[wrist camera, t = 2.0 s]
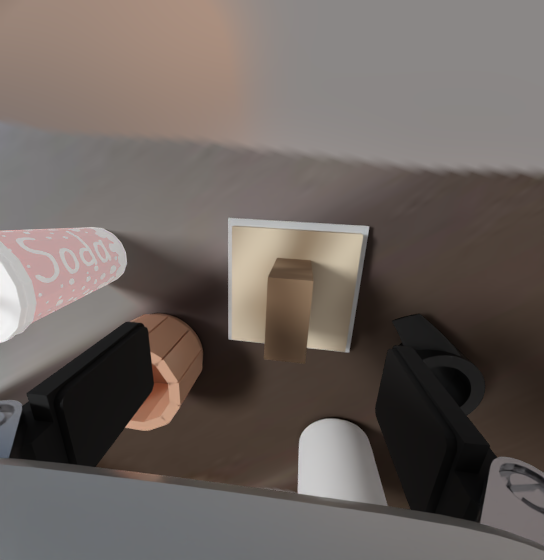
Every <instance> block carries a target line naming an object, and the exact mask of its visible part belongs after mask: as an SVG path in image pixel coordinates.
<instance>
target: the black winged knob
mask: <svg viewBox="0 0 544 560" xmlns="http://www.w3.org/2000/svg"><path fill="white" fill-rule="evenodd" d="M392 322H393V324H394V326H395V328H396V330H397V332H398V334H399V336H400V338H401V341H402V343H401V344H399V345H398V346H407V347H412V348H413V349H414V350H415V351H416V353H417V354H418V355H419V356H420V358H421V359H422V360H423V362H424V363H425V364H426V365H427V367H428V368H429V369H430V370H431V372H432V373H433V374H434V375H435V377H436V378H437V379H438V380H439V382H440V383H441V384H442V386H443V387H444V388H445V389H446V391H447V392H448V393H449V394H450V396H451V397H452V398H453V399H454V401H455V402H456V403H457V405H458V406H459V407H460V408H461V410H462V411H463V412H464V413H465V415H466V416H467V415H468V414H470V413H471V412H472V411H473V410H474V409H475V408H476V407H477V406H478V405H479V404H480V402H481V400H482V398H483V396H484V392H485V381H484V378H483V375H482V374H481V372H480V371H479V369H478V368H477V367H476V366H475V365H474V364H473V363H472V362H470V361H469V360H468V359H467V358H466V357H465V356H464V355H463V354H462V353H461V352H460V351H459V350H458V349H457V348H456V347H455V346H454V345H452V344H451V343H450V342H449V340H448V339H447V338H446V337H445V336H444V335H443V334H442V333H441V332H440V331H439V330H437V329H436V328H435V327H434V326H433V325H432V324H431V323H430V322H428V321H427V320H426V319H425V318H424V317H423V316H422V315H420V314H415V315H410V316H406V317H402V318H399V319H396V320H393V321H392Z"/></svg>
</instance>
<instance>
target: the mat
mask: <svg viewBox="0 0 544 560" xmlns="http://www.w3.org/2000/svg"><path fill="white" fill-rule="evenodd" d="M235 225H236V226H252V227H268V228H284V229H300V230H316V231H332V232H348V233H361V234H363V241H362V247H361V254H360V260H359V267H358V273H357V280H356V286H355V292H354V299H353V305H352V312H351V318H350V324H349V331H348V337H347V344H346V350H345V352H349V350H350V344H351V338H352V332H353V325H354V319H355V313H356V307H357V301H358V294H359V288H360V282H361V276H362V270H363V263H364V257H365V251H366V245H367V239H368V232H369V226H360V225H343V224H326V223H310V222H293V221H276V220H260V219H243V218H228V339H229V340H232V226H235ZM238 341H240V340H238ZM248 342H249V341H248ZM257 343H258V342H257ZM313 349H314V348H313ZM322 350H323V349H322ZM331 351H333V350H331ZM341 352H342V351H341Z"/></svg>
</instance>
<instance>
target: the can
mask: <svg viewBox="0 0 544 560" xmlns="http://www.w3.org/2000/svg"><path fill="white" fill-rule="evenodd" d="M298 494H305V495H312V496H319V497H327V498H334V499H341V500H348V501H355V502H363V503H370V504H377V505H383V506H387V502H386V498H385V495H384V491H383V488H382V484H381V481H380V477H379V473H378V470H377V466H376V463H375V459H374V456H373V452H372V449H371V445H370V442H369V439H368V437H367V436H366V434H365V433H364V432H363V430H362V429H361V428H359V427H358V426H357V425H355V424H353V423H352V422H349V421H347V420H343V419H339V418H324V419H320V420H317V421H315V422H313V423H312V424H310V425H309V426H308V427H307V428H306V429H305V430H304V431H303V433H302V434H301V437H300V440H299V462H298Z"/></svg>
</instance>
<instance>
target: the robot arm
mask: <svg viewBox="0 0 544 560" xmlns="http://www.w3.org/2000/svg"><path fill="white" fill-rule="evenodd" d="M153 387H154V379H153V370H152V361H151V352H150V343H149V334H148V329H147V327H144V324H143V323H137V322H125V323H124V324H122V325H121V326H120V327H118V328H117V329H115V330H114V331H113V332H111V333H110V334H108V335H107V336H106V337H104V338H103V339H101V340H100V341H99V342H97V343H96V344H95V345H93V346H92V347H90V348H89V349H88V350H86V351H85V352H83V353H82V354H81V355H79V356H78V357H76V358H75V359H74V360H72V361H71V362H69V363H68V364H67V365H65V366H64V367H63V368H61V369H60V370H58V371H57V372H56V373H54V374H53V375H51V376H50V377H49V378H47V379H46V380H44V381H43V382H42V383H40V384H39V385H37V386H36V387H35V388H33V389H32V390H31V391H29V392H28V393H27V397H28V400H29V402H27V403H26V404H25V405H23V406H22V404H21V403H20V402H18V401H14V400H4V401H0V560H544V473H543V472H541V471H540V470H538V469H536V468H535V467H533V466H531V465H529V464H527V463H525V462H522V461H520V460H517V459H513V458H509V457H499V458H497V457H496V455H495V454H494V453H493V452H492V450H491V449H490V448H489V447H490V445H489V444H488V442H487V441H486V440H485V439H484V437H483V436H482V435H481V434H480V432H479V431H478V430H477V429H476V427H475V426H474V425H473V423H472V422H471V421H470V420H469V418H468V417H467V416H466V415H465V413H464V412H463V411H462V410H461V408H460V407H459V406H458V405H457V403H456V402H455V401H454V399H453V398H452V397H451V396H450V394H449V393H448V392H447V391H446V389H445V388H444V387H443V386H442V384H441V383H440V382H439V380H438V379H437V378H436V377H435V375H434V374H433V373H432V372H431V370H430V369H429V368H428V367H427V365H426V364H425V363H424V362H423V360H422V359H421V358H420V356H419V355H418V354H417V353H416V351H415V350H414V349H413V348H412V347H407V346H396V345H395V346H394V347H393V348H392V349H389V350H388V352H387V356H386V360H385V365H384V369H383V374H382V379H381V383H380V388H379V393H378V397H377V402H376V407H375V412H376V417H377V420H378V423H379V425H380V428H381V431H382V433H383V436H384V439H385V442H386V444H387V447H388V450H389V452H390V455H391V458H392V460H393V463H394V466H395V468H396V471H397V474H398V477H399V479H400V482H401V485H402V487H403V490H404V493H405V495H406V498H407V501H408V503H409V506H410V509H411V510H408V509H402V508H396V507H389V506H383V505H377V504H370V503H363V502H355V501H348V500H341V499H334V498H327V497H319V496H312V495H305V494H298V493H290V492H283V491H276V490H268V489H261V488H253V487H246V486H238V485H231V484H223V483H216V482H208V481H200V480H193V479H185V478H177V477H170V476H162V475H154V474H146V473H138V472H130V471H122V470H114V469H106V468H98V467H96V465H97V464H98V463H99V461H100V460H101V459H102V457H103V456H104V455H105V453H106V452H107V451H108V449H109V448H110V447H111V445H112V444H113V443H114V441H115V440H116V439H117V437H118V436H119V435H120V433H121V432H122V431H123V429H124V428H125V427H126V425H127V424H128V423H129V421H130V420H131V419H132V417H133V416H134V415H135V413H136V412H137V411H138V409H139V408H140V407H141V405H142V404H143V403H144V401H145V400H146V399H147V397H148V396H149V395H150V393H151V392H152V390H153Z"/></svg>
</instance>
